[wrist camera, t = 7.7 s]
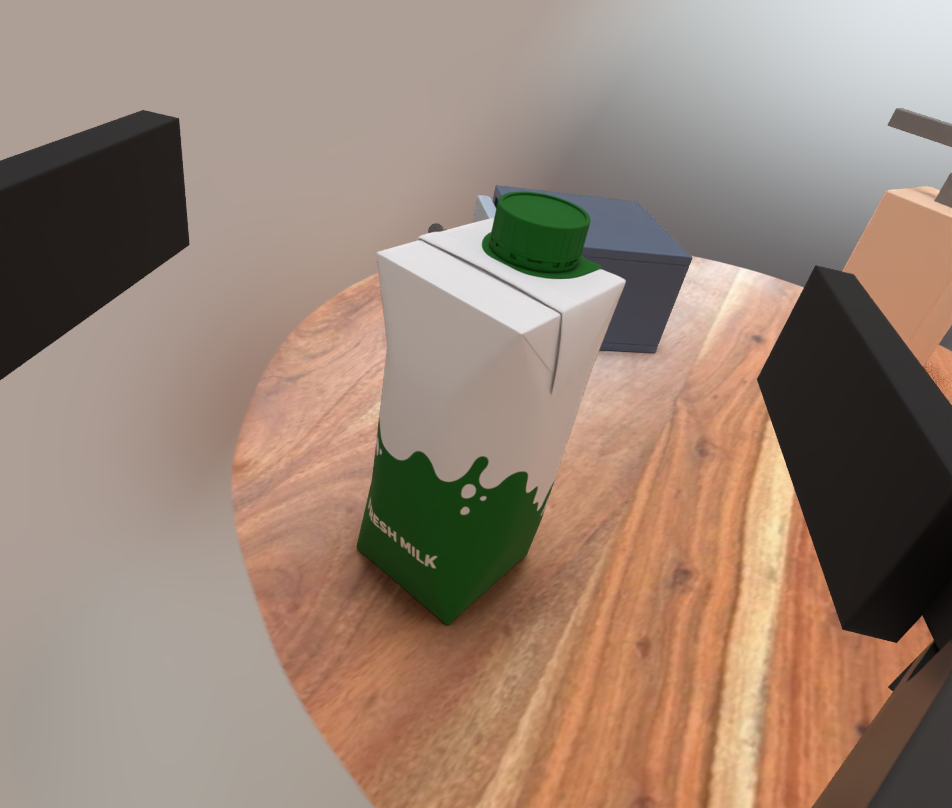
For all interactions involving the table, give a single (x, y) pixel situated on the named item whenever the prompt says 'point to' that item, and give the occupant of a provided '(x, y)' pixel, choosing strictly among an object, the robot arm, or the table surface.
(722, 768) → the table surface
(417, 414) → the milk carton
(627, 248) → the blue drawer cabinet
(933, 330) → the soap dispenser
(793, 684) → the table surface
